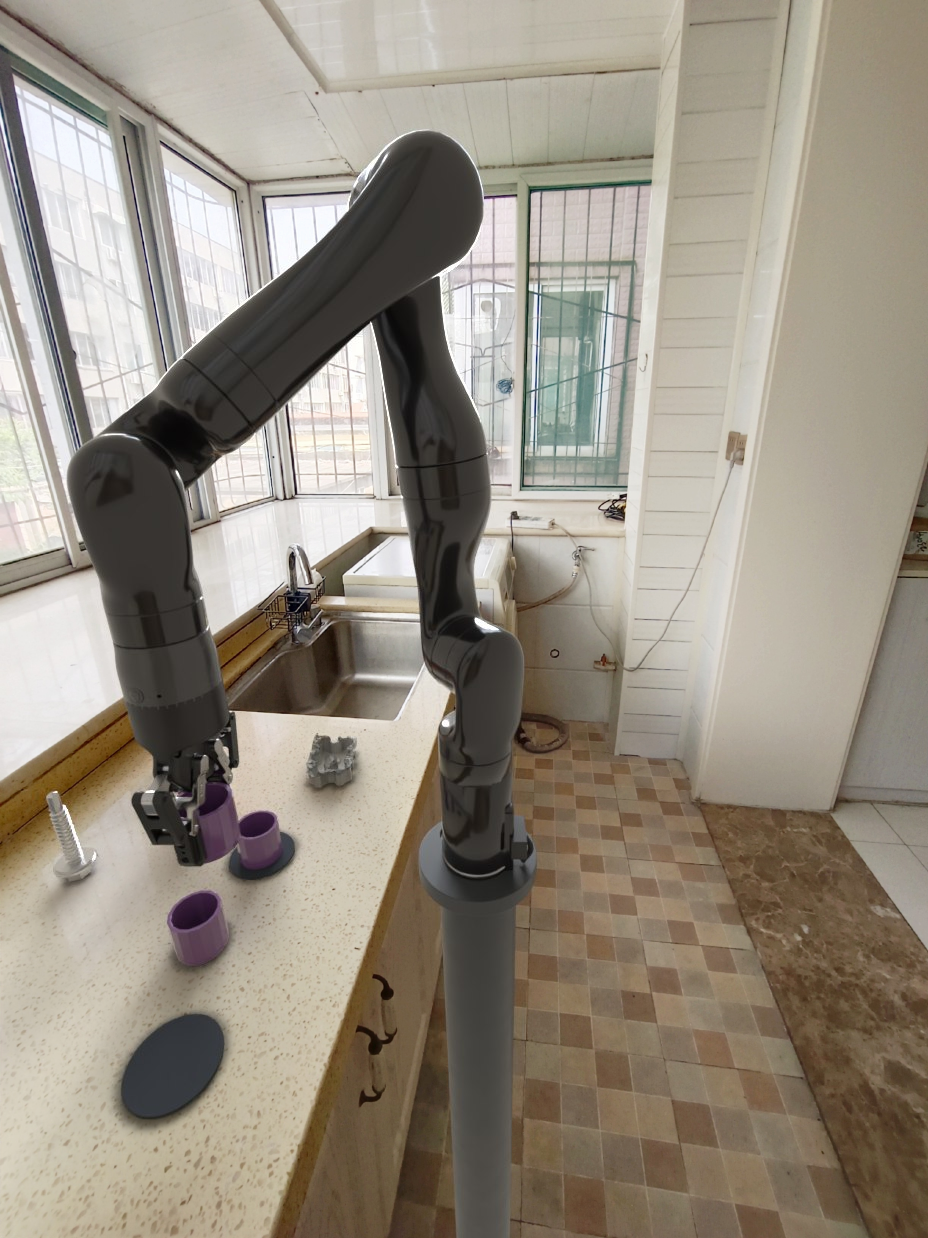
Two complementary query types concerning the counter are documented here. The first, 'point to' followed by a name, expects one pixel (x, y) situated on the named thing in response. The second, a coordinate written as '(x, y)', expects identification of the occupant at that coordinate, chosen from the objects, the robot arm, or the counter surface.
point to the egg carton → (331, 760)
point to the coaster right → (268, 871)
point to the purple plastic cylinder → (217, 820)
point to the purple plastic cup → (259, 840)
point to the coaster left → (172, 1066)
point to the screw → (69, 843)
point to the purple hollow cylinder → (198, 927)
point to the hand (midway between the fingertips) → (209, 838)
